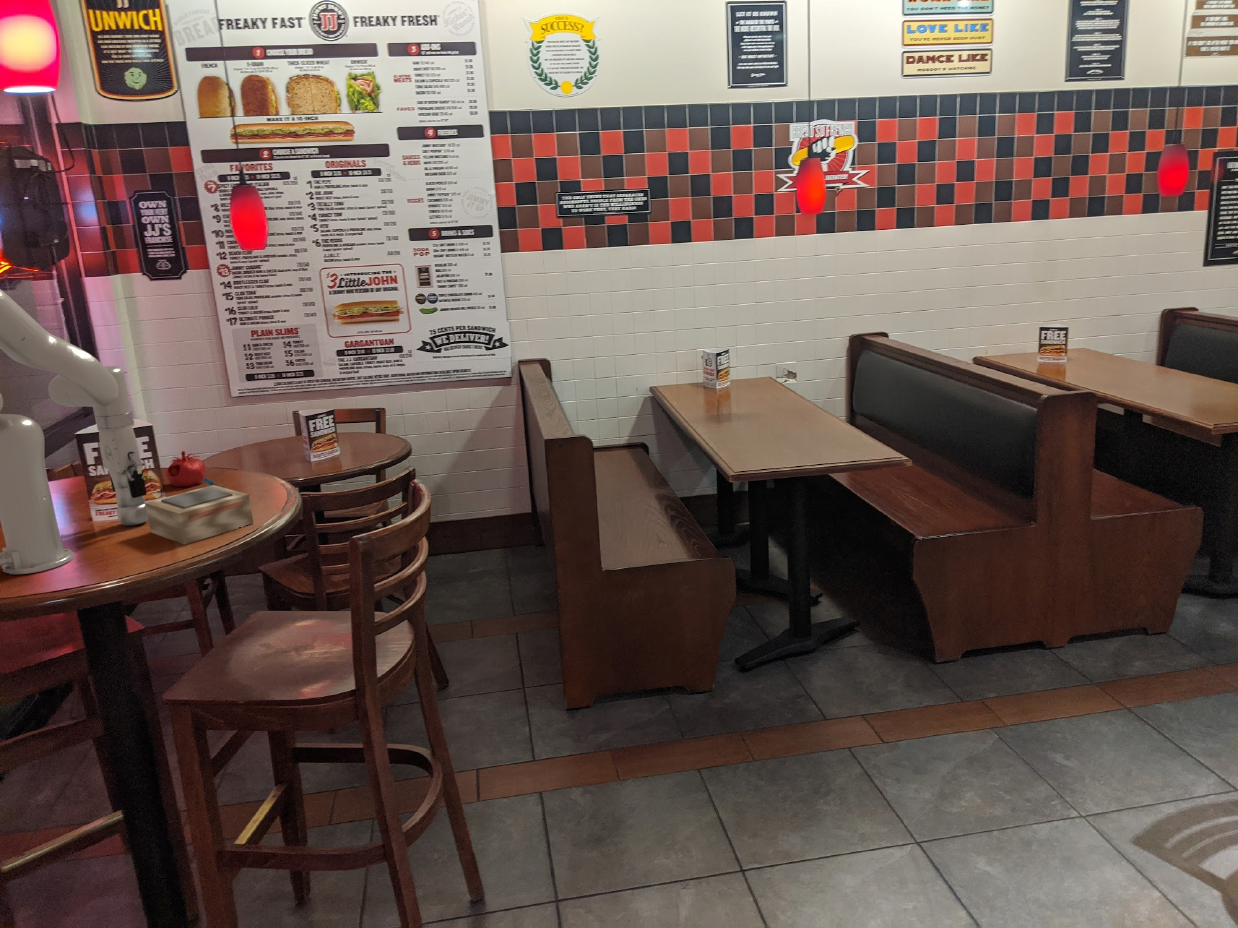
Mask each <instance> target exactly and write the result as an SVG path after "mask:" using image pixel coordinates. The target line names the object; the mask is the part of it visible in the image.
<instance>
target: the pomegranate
mask: <svg viewBox="0 0 1238 928" xmlns="http://www.w3.org/2000/svg"><path fill="white" fill-rule="evenodd" d="M199 457H201V456H200V455H194V453H189V454H187V455H186V451H185V450H182V451H181V457H178V456H173V457H172V460H171V461H170V463H171V464H170V465H169V466H168V467H167V468H166V470H165V477H166V478H167V480H168V482H169V483H170V485H172V486H175V487H177V488H178V487H179V488H182V487H183V488H185V487H193V486H196V485H200V484H202V483H203V482H204V481H203V480H204V479H205V478H206V471H207V468H206V465H205V464H204V462H203V461H202V459H200V458H199Z"/></svg>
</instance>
